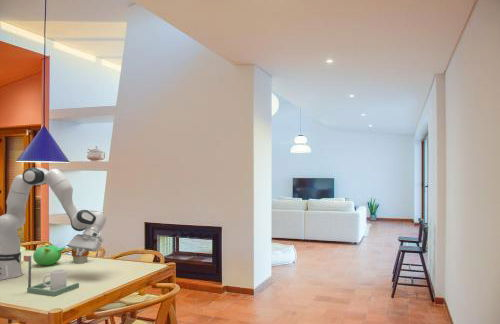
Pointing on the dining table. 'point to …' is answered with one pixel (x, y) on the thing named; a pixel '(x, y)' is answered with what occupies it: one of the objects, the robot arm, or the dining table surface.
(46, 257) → the green teapot
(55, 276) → the cup
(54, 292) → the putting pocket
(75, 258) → the reusable coffee cup
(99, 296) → the dining table surface
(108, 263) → the dining table surface
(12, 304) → the dining table surface
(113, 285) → the dining table surface
